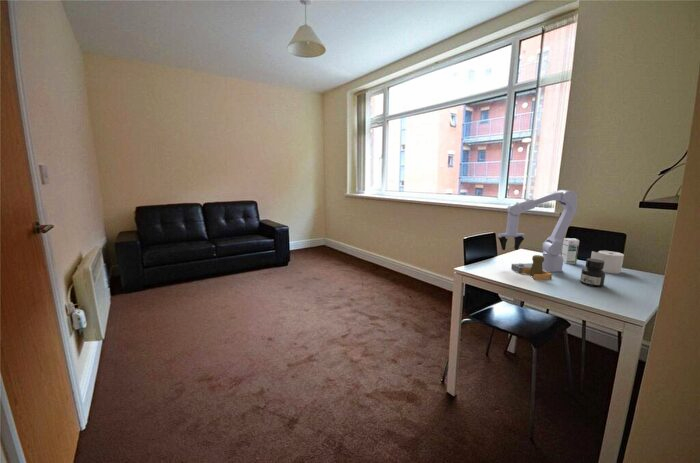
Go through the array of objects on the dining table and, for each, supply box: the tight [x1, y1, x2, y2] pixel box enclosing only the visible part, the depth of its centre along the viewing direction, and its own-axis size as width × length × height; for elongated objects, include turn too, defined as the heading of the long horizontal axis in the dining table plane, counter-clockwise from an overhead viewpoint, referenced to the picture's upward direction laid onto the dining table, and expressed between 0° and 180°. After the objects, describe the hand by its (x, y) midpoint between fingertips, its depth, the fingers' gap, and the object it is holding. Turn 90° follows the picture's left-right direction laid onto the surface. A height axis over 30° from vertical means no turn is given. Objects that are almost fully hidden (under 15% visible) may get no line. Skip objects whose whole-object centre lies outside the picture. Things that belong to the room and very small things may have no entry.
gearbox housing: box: [510, 262, 553, 280], centre depth 158 cm, size 12×17×4 cm
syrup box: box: [561, 237, 580, 265], centre depth 177 cm, size 6×6×14 cm
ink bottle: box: [579, 257, 606, 288], centre depth 143 cm, size 10×9×12 cm
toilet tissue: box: [590, 250, 625, 274], centre depth 163 cm, size 11×12×10 cm
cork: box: [528, 254, 544, 278], centre depth 154 cm, size 6×6×11 cm
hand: (509, 249), depth 167 cm, fingers open, 7 cm apart
